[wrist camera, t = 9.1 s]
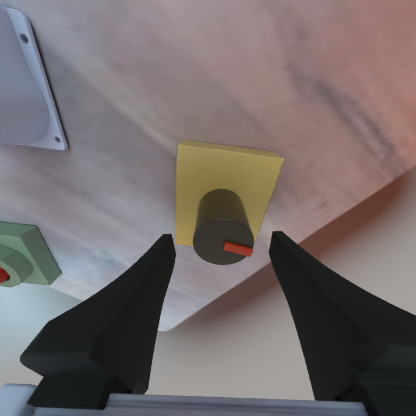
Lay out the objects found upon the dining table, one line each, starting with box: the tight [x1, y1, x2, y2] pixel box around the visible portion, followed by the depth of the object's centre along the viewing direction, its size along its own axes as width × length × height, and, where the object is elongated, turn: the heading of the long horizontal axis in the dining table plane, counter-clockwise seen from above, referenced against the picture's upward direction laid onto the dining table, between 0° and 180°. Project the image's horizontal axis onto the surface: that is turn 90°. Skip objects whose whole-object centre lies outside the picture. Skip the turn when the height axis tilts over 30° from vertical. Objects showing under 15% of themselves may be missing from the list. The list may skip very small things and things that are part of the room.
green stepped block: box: [0, 222, 61, 287], centre depth 22 cm, size 10×8×4 cm
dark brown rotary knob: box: [193, 189, 254, 265], centre depth 13 cm, size 4×4×5 cm
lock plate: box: [175, 140, 284, 246], centre depth 17 cm, size 11×9×3 cm
